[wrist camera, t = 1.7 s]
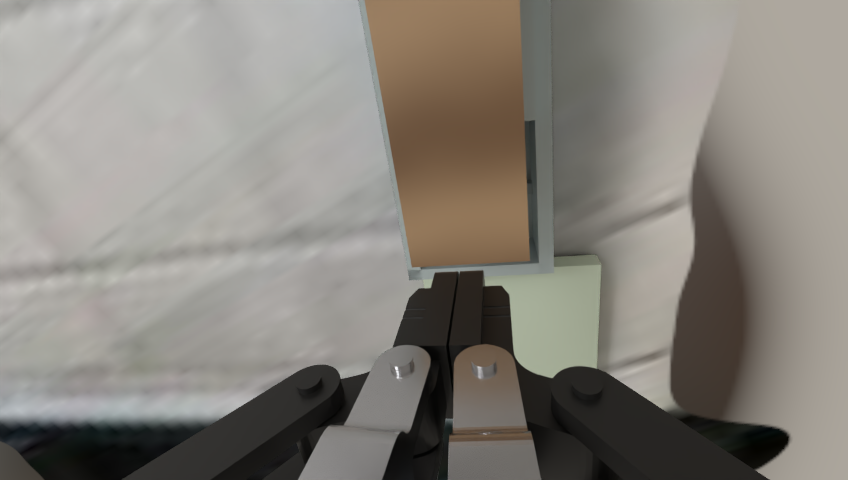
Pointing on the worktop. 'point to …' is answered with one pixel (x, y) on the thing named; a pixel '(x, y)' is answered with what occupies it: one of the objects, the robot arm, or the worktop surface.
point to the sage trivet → (554, 314)
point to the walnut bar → (455, 126)
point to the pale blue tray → (536, 145)
